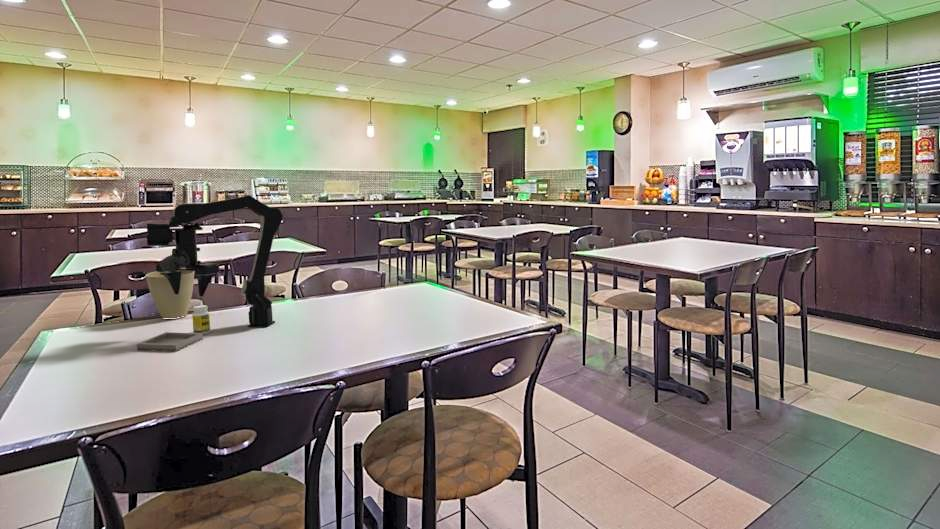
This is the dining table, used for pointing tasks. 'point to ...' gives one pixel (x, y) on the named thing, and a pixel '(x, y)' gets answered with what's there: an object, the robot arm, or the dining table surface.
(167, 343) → the tray
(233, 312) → the dining table surface
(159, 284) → the plant pot
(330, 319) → the dining table surface
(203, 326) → the supplement bottle
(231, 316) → the dining table surface
